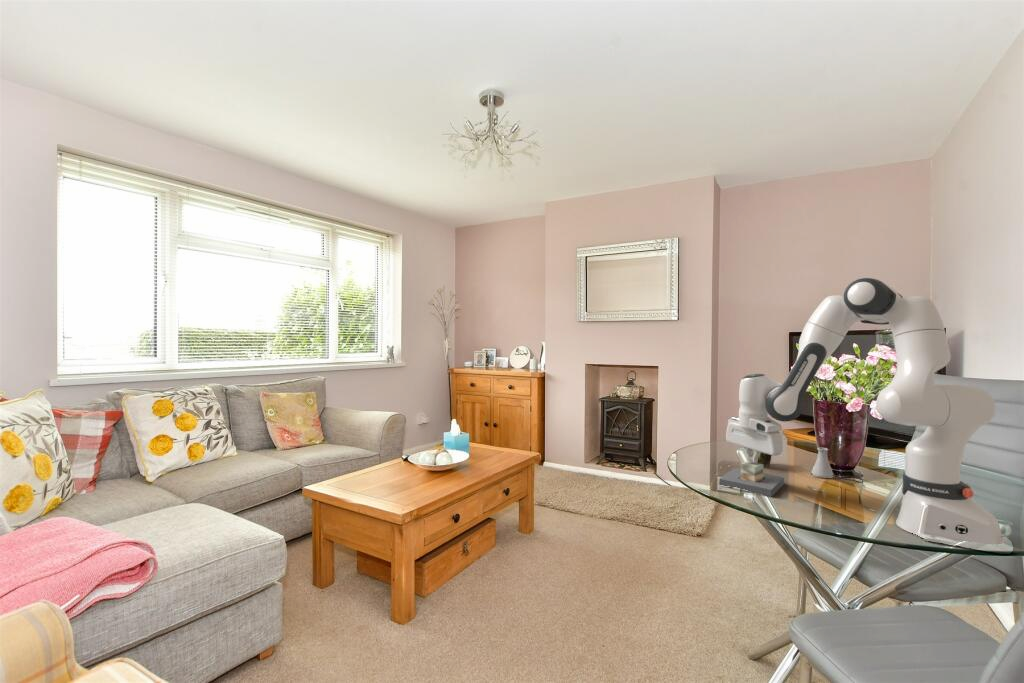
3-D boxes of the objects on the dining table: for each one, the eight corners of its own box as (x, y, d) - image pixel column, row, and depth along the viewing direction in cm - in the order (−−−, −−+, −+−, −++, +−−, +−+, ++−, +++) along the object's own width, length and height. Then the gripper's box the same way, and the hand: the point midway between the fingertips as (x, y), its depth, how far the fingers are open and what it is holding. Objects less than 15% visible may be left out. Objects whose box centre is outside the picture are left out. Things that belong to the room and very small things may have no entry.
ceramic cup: (745, 459, 191) (745, 435, 191) (773, 463, 187) (774, 437, 187) (745, 469, 180) (745, 443, 179) (775, 472, 175) (776, 445, 175)
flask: (809, 471, 176) (810, 444, 176) (833, 474, 173) (834, 447, 172) (810, 477, 170) (811, 449, 170) (835, 480, 166) (835, 452, 166)
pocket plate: (784, 484, 164) (784, 477, 163) (771, 497, 152) (771, 489, 152) (735, 474, 174) (735, 467, 174) (719, 485, 163) (719, 478, 163)
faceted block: (763, 481, 162) (763, 464, 162) (754, 484, 159) (754, 467, 159) (749, 477, 166) (749, 460, 166) (740, 480, 164) (740, 463, 163)
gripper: (721, 416, 171) (721, 454, 171) (772, 428, 152) (771, 471, 153) (735, 414, 173) (734, 452, 174) (786, 426, 154) (785, 468, 155)
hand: (752, 461), depth 163 cm, fingers closed
